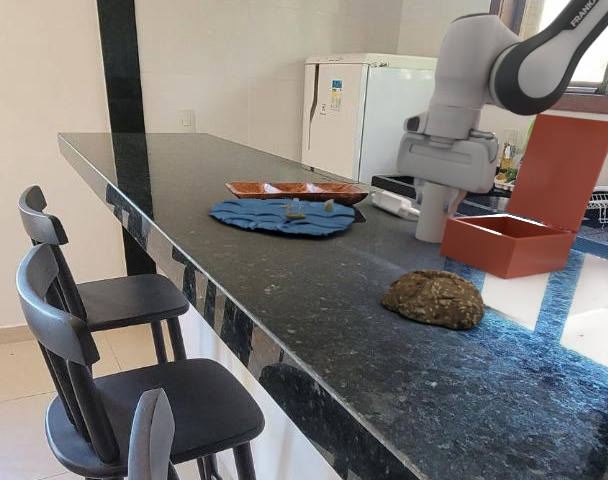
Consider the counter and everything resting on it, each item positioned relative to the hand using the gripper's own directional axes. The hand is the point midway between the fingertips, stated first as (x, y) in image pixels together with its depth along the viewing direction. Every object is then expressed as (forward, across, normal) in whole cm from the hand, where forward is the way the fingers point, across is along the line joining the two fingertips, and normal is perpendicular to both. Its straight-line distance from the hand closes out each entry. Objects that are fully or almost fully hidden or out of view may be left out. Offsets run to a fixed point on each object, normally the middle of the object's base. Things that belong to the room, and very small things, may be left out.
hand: (434, 208), depth 96 cm
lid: (-9, -15, -10) cm, 20 cm away
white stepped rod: (+6, +23, -14) cm, 28 cm away
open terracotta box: (+6, -15, -2) cm, 16 cm away
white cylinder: (+6, 0, -1) cm, 6 cm away
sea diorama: (+6, +21, +18) cm, 28 cm away
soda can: (+6, -10, -25) cm, 28 cm away
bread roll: (+6, -25, +25) cm, 36 cm away
